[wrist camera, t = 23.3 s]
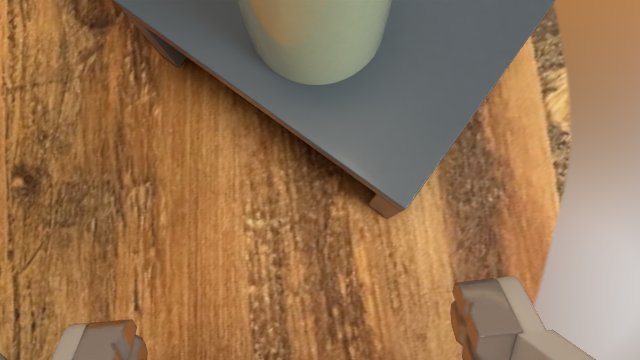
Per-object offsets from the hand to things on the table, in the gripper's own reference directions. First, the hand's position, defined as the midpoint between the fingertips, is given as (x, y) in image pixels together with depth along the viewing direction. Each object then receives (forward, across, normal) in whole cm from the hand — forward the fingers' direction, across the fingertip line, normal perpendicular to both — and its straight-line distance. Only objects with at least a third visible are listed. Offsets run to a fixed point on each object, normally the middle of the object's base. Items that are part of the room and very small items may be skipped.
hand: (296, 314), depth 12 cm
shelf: (+22, -3, +2) cm, 22 cm away
